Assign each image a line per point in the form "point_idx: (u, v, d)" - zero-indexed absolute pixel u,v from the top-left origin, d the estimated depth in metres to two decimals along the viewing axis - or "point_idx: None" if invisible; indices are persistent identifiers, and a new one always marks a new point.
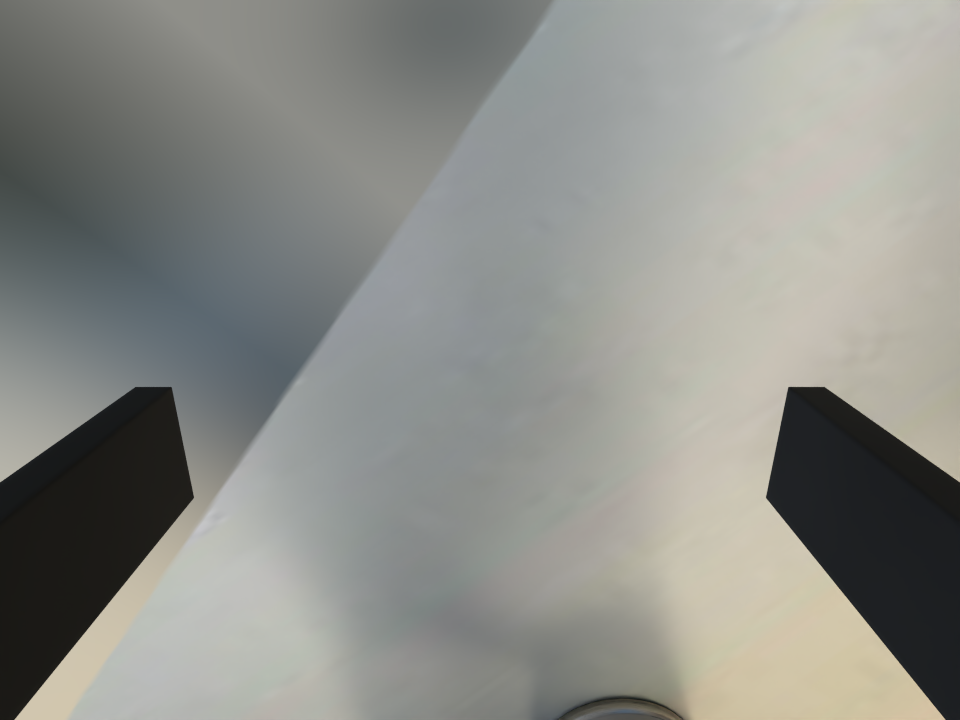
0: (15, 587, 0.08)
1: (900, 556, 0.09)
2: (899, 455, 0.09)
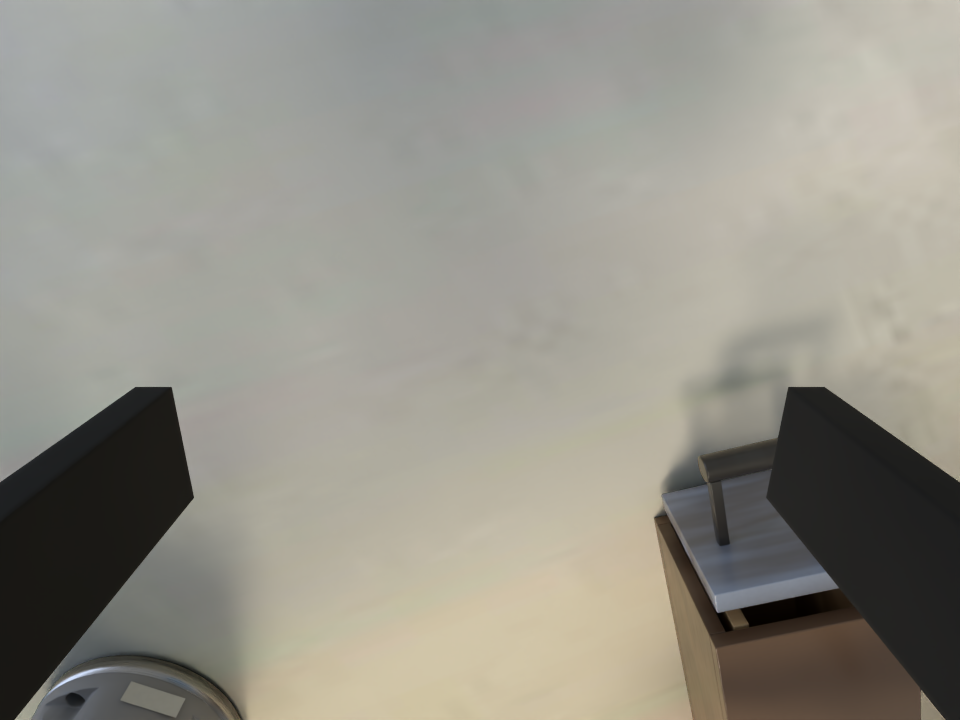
0: (15, 587, 0.08)
1: (900, 556, 0.09)
2: (899, 455, 0.09)
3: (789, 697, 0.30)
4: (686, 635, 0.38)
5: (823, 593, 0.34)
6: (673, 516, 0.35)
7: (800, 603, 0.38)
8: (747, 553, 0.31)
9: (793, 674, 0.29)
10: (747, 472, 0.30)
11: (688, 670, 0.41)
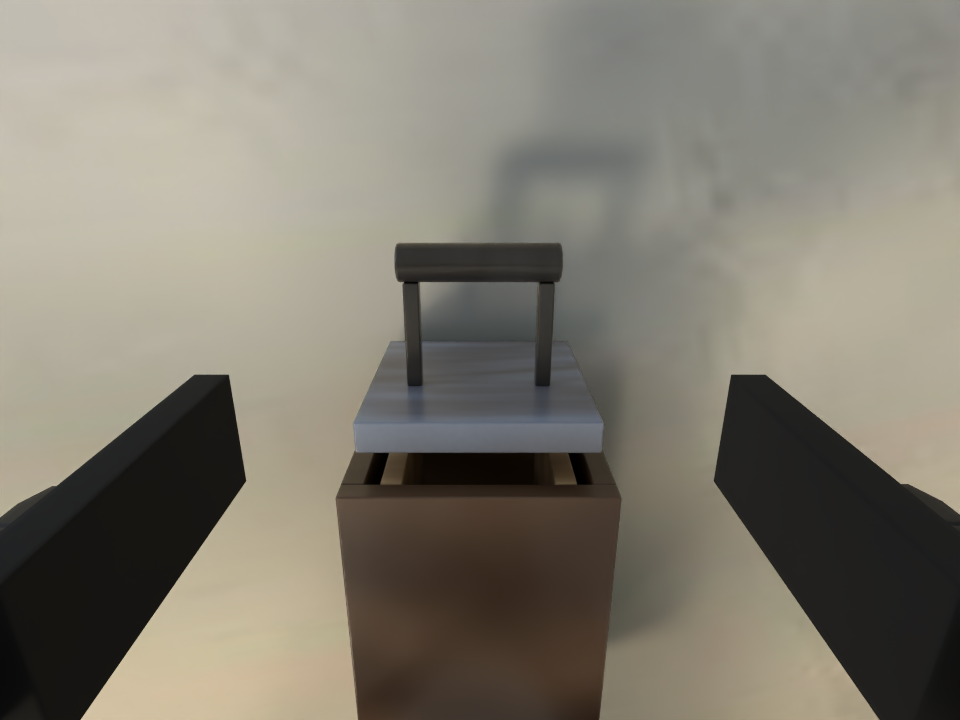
0: (111, 554, 0.09)
1: (816, 528, 0.09)
2: (820, 435, 0.10)
3: (434, 597, 0.21)
4: None
5: None
6: (383, 358, 0.26)
7: None
8: (433, 395, 0.22)
9: (441, 563, 0.21)
10: (451, 274, 0.21)
11: None
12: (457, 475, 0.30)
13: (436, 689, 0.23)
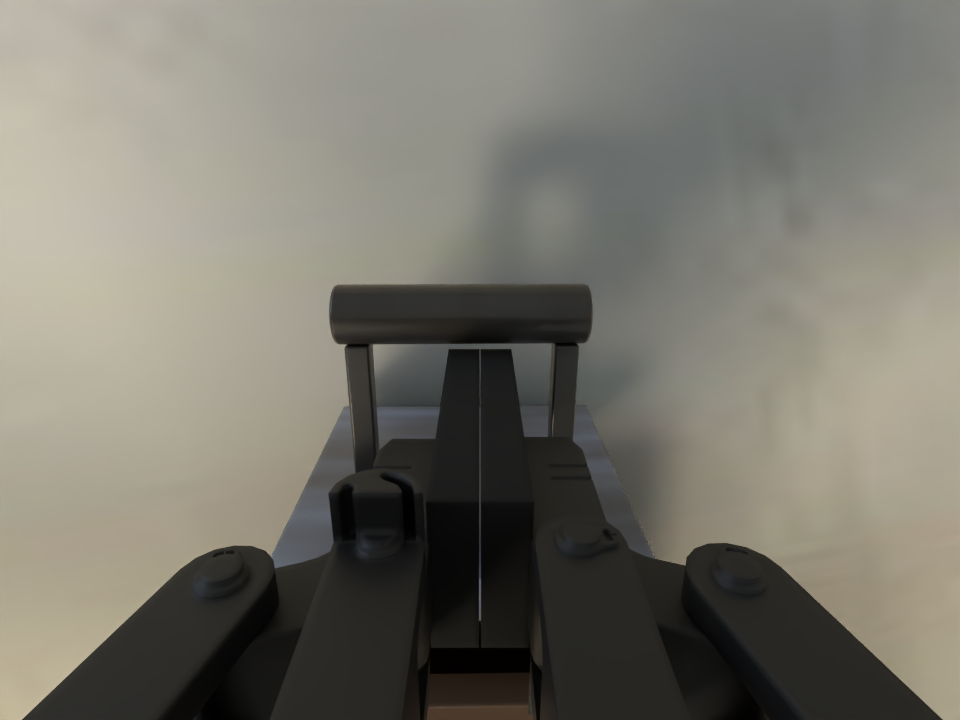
0: None
1: None
2: (500, 396, 0.12)
3: None
4: None
5: None
6: (329, 438, 0.19)
7: None
8: None
9: None
10: (418, 335, 0.14)
11: None
12: None
13: None
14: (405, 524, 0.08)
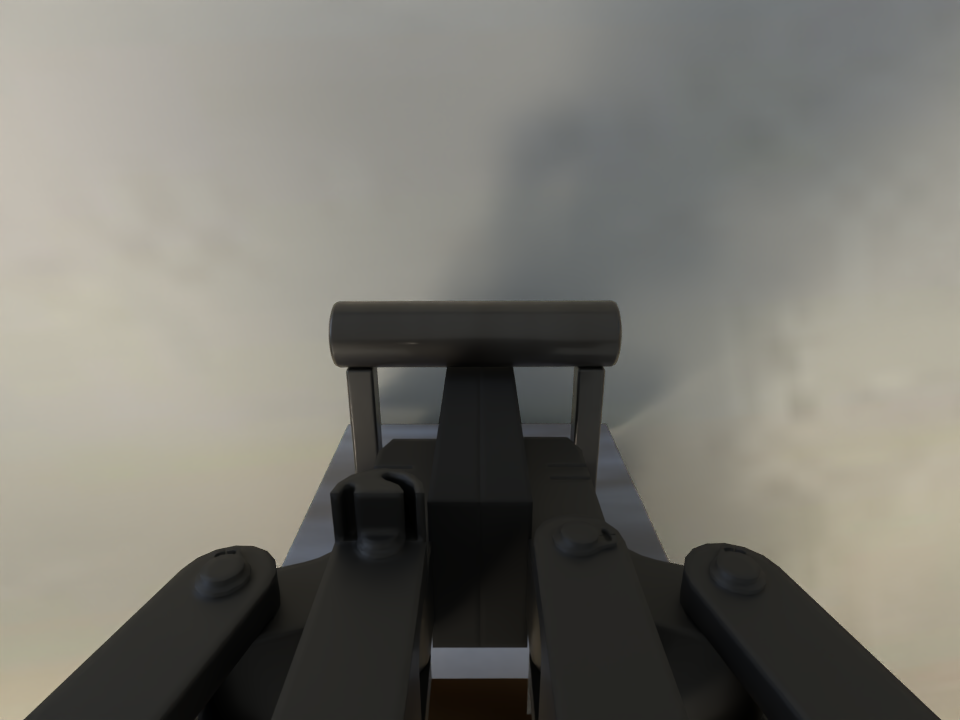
0: None
1: None
2: (499, 396, 0.12)
3: None
4: None
5: None
6: (332, 460, 0.17)
7: None
8: None
9: None
10: (427, 358, 0.12)
11: None
12: None
13: None
14: (406, 524, 0.08)
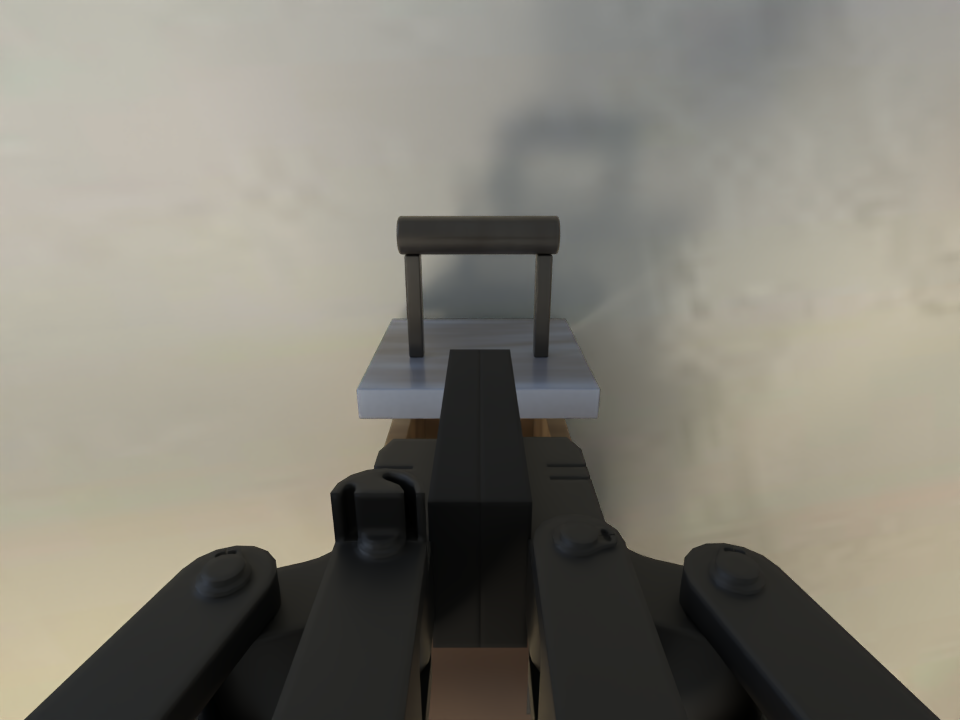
0: None
1: None
2: (499, 396, 0.12)
3: (439, 684, 0.24)
4: None
5: None
6: (385, 333, 0.27)
7: None
8: (434, 365, 0.23)
9: (446, 656, 0.24)
10: (451, 246, 0.22)
11: None
12: None
13: None
14: (407, 524, 0.08)
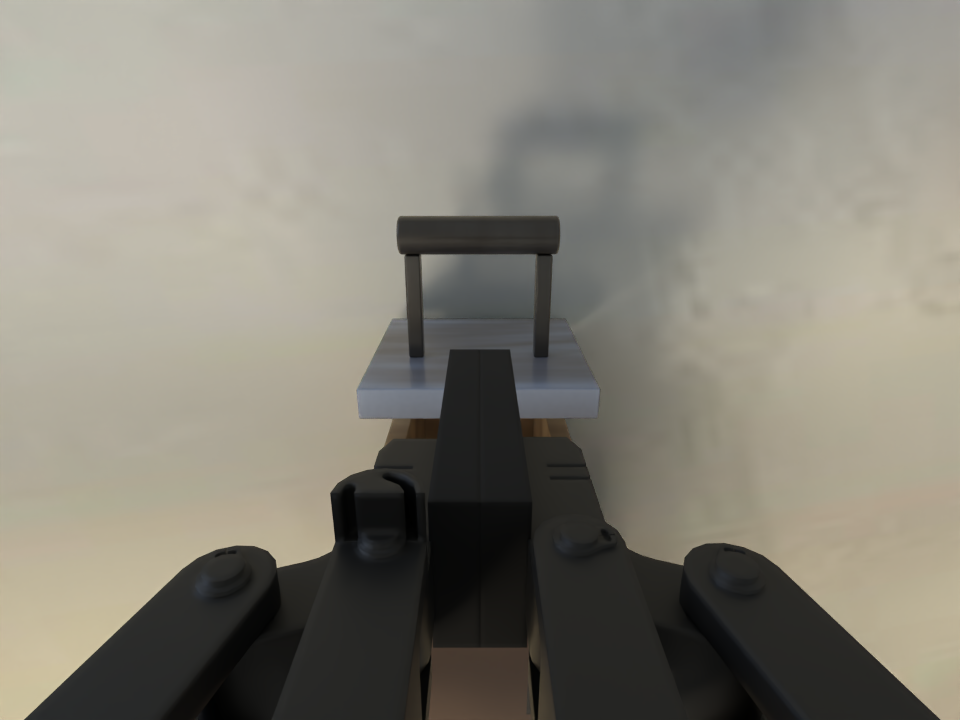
0: None
1: None
2: (499, 396, 0.12)
3: (439, 684, 0.24)
4: None
5: None
6: (385, 333, 0.27)
7: None
8: (434, 365, 0.23)
9: (446, 656, 0.24)
10: (451, 246, 0.22)
11: None
12: None
13: None
14: (407, 524, 0.08)
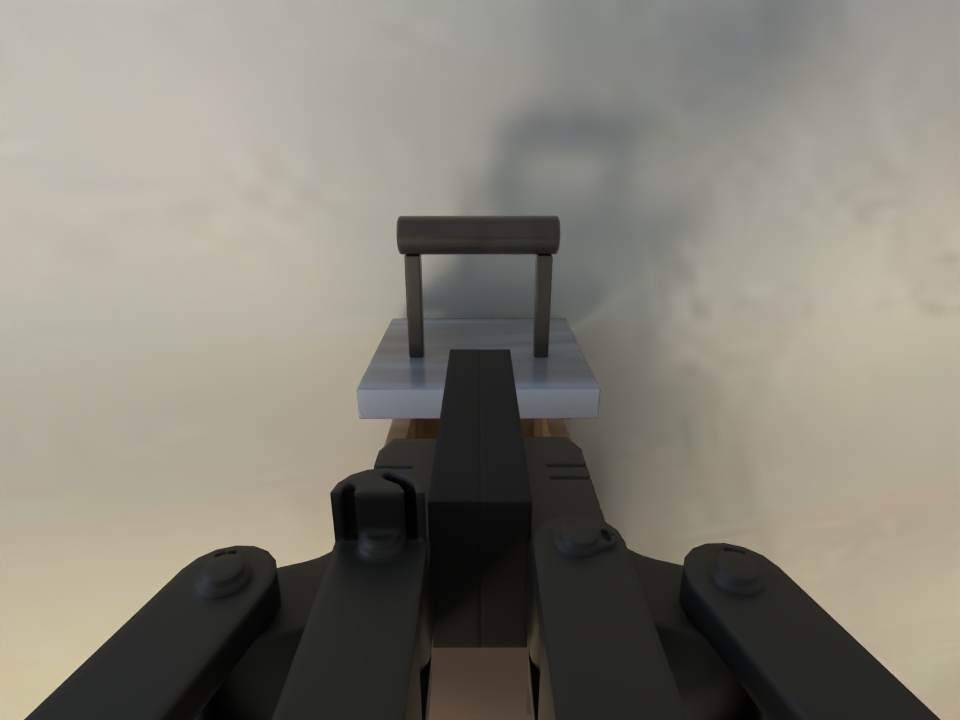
0: None
1: None
2: (499, 396, 0.12)
3: (439, 684, 0.24)
4: None
5: None
6: (385, 333, 0.27)
7: None
8: (434, 365, 0.23)
9: (446, 656, 0.24)
10: (451, 246, 0.22)
11: None
12: None
13: None
14: (407, 524, 0.08)
